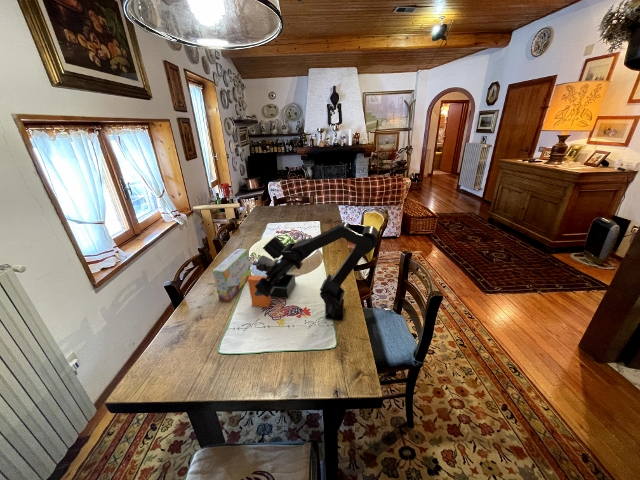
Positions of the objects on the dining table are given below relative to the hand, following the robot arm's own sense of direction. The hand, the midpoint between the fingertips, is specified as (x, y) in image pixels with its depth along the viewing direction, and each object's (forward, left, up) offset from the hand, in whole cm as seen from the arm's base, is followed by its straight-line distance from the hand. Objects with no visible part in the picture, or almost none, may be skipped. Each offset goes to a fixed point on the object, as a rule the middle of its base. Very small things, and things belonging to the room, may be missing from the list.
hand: (260, 287), depth 101 cm
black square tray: (-4, -11, -8) cm, 14 cm away
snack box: (+17, -10, -8) cm, 22 cm away
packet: (0, 0, -8) cm, 8 cm away
